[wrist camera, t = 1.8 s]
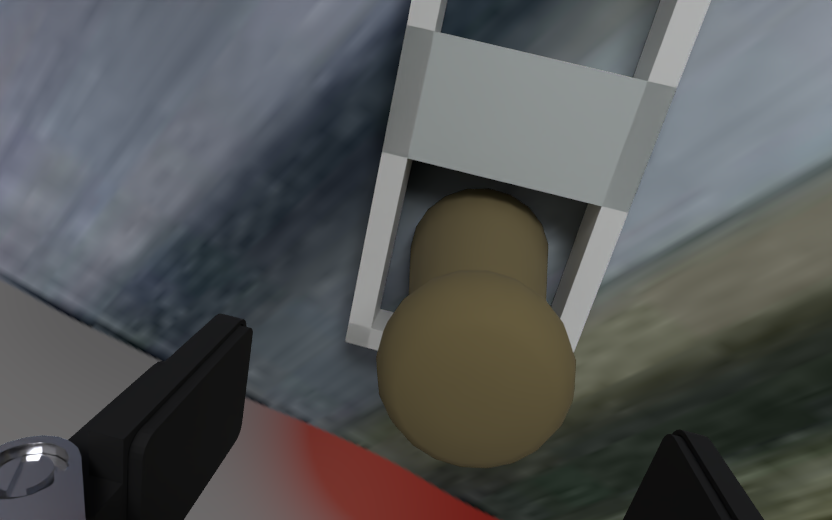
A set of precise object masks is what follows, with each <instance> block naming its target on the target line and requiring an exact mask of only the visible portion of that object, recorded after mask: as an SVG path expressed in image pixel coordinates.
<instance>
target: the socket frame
mask: <svg viewBox="0 0 832 520" xmlns="http://www.w3.org/2000/svg"><path fill="white" fill-rule="evenodd" d="M710 2H711V0H661V1H660V3H659V6H658V9H657V12H656V15H655V17H654V20H653V23H652V26H651V29H650V31H649V34H648V37H647V40H646V43H645V45H644V48H643V51H642V54H641V56H640V59H639V62H638V65H637V68H636V70H635V73H634V76H633V78H632V77H628V76H624V75H620V74H615V73H611V72H607V71H602V70H598V69H594V68H590V67H585V66H581V65H577V64H572V63H568V62H564V61H560V60H555V59H551V58H547V57H543V56H538V55H534V54H530V53H525V52H521V51H517V50H513V49H508V48H504V47H500V46H495V45H491V44H487V43H483V42H478V41H474V40H470V39H466V38H461V37H457V36H453V35H448V34H444V33H440V32H441V28H442V23H443V19H444V14H445V9H446V5H447V0H412V1H411V6H410V11H409V16H408V22H407V27H406V32H405V37H404V42H403V47H402V52H401V57H400V63H399V68H398V73H397V78H396V83H395V88H394V93H393V99H392V104H391V109H390V114H389V119H388V124H387V129H386V134H385V140H384V145H383V150H382V155H381V160H380V165H379V170H378V176H377V181H376V186H375V191H374V196H373V201H372V206H371V211H370V217H369V222H368V227H367V232H366V237H365V242H364V247H363V253H362V258H361V263H360V268H359V273H358V278H357V283H356V288H355V294H354V299H353V304H352V309H351V314H350V319H349V324H348V330H347V335H346V340H345V342H347V343H351V344H355V345H359V346H362V347H366V348H370V349H374V350H377V351H378V349H379V345H380V341H381V338H382V334H383V331H384V328H385V326H386V324H387V322H388V320H389V319H390V317H391V316H392V315H393V313H394V312H391V311H387V310H383V309H380V307H381V303H382V298H383V294H384V289H385V285H386V280H387V275H388V271H389V266H390V262H391V257H392V252H393V248H394V243H395V239H396V234H397V230H398V225H399V220H400V216H401V211H402V207H403V202H404V197H405V193H406V188H407V184H408V179H409V174H410V170H411V165H412V161H413V160H416V161H420V162H424V163H428V164H433V165H437V166H441V167H445V168H449V169H453V170H457V171H461V172H465V173H469V174H473V175H477V176H481V177H485V178H489V179H493V180H497V181H501V182H505V183H509V184H513V185H518V186H522V187H526V188H530V189H534V190H538V191H542V192H546V193H550V194H554V195H558V196H562V197H566V198H570V199H574V200H578V201H582V202H586V203H588V205H587V208H586V210H585V213H584V216H583V219H582V222H581V224H580V227H579V230H578V233H577V236H576V238H575V241H574V244H573V247H572V250H571V252H570V255H569V258H568V261H567V264H566V266H565V269H564V272H563V275H562V278H561V280H560V283H559V286H558V289H557V292H556V294H555V297H554V300H553V303H552V306H551V308H552V309H553V310H554V312H555V313H556V314H557V315H558V317H559V318H560V319H561V321H562V322H563V324H564V326H565V329H566V332H567V335H568V338H569V341H570V344H571V347H572V350H573V353H574V350H575V348H576V345H577V343H578V340H579V338H580V335H581V332H582V330H583V327H584V325H585V322H586V320H587V317H588V315H589V312H590V309H591V307H592V304H593V302H594V299H595V297H596V294H597V291H598V289H599V286H600V284H601V281H602V279H603V276H604V274H605V271H606V268H607V266H608V263H609V261H610V258H611V256H612V253H613V250H614V248H615V245H616V243H617V240H618V238H619V235H620V233H621V230H622V227H623V225H624V222H625V220H626V217H627V215H628V212H629V209H630V207H631V204H632V202H633V199H634V197H635V194H636V192H637V189H638V186H639V184H640V181H641V179H642V176H643V174H644V171H645V168H646V166H647V163H648V161H649V158H650V156H651V153H652V150H653V148H654V145H655V143H656V140H657V138H658V135H659V133H660V130H661V127H662V125H663V122H664V120H665V117H666V115H667V112H668V109H669V107H670V104H671V102H672V99H673V97H674V94H675V92H676V89H677V86H678V84H679V81H680V79H681V76H682V74H683V71H684V68H685V66H686V63H687V61H688V58H689V56H690V53H691V51H692V48H693V45H694V43H695V40H696V38H697V35H698V33H699V30H700V27H701V25H702V22H703V20H704V17H705V15H706V12H707V10H708V7H709V4H710Z"/></svg>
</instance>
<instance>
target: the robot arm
mask: <svg viewBox="0 0 832 520" xmlns="http://www.w3.org/2000/svg"><path fill="white" fill-rule="evenodd" d="M252 335H253V331H252V328H249V327H246V321H245V320H244V319H240V318H236V317H232V316H228V315H224V314H218V315H216V316H215V317H214V318H213V319H212V320H211V321H209V322H208V323H207V324H206V325H205V326H204V327H203V328H202V329H201V330H199V331H198V332H197V333H196V334H195V335H194V336H193V337H192V338H191V339H189V340H188V341H187V342H186V343H185V344H184V345H183V346H182V347H181V348H179V349H178V350H177V351H176V352H175V353H174V354H173V355H172V356H171V357H169V358H168V359H167V360H166V361H161V362H157V363H156V364H154V365H153V366H152V367H151V368H150V369H148V370H147V371H146V372H145V373H144V374H143V375H141V376H140V378H138V379H137V380H136V381H135V382H134V383H132V384H131V385H130V386H129V387H128V388H127V389H126V390H124V391H123V392H122V393H121V394H120V395H119V396H118V397H116V398H115V399H114V400H113V401H112V402H111V403H110V404H108V405H107V406H106V407H105V408H104V409H103V410H102V411H101V412H99V413H98V414H97V415H96V416H95V417H94V418H93V419H91V420H90V421H89V422H88V423H87V424H86V425H85V426H84V427H82V428H81V429H80V430H79V431H78V432H77V433H76V434H75V435H73V436H72V437H71V438H70V439H69V440H66V439H63V438H60V437H55V436H33V437H26V438H21V439H18V440H15V441H10V442H7V443H5V444H3V445H1V446H0V520H184V518H185V517H186V515H187V514H188V512H189V511H190V509H191V508H192V506H193V505H194V503H195V502H196V500H197V499H198V497H199V496H200V494H201V493H202V491H203V490H204V488H205V487H206V485H207V484H208V482H209V481H210V479H211V478H212V476H213V475H214V473H215V472H216V470H217V469H218V467H219V466H220V464H221V463H222V461H223V460H224V458H225V457H226V455H227V454H228V452H229V451H230V449H231V447H232V446H233V445H234V443H235V441H236V440H237V438H238V435H239V433H240V430H241V425H242V418H243V411H244V402H245V394H246V385H247V377H248V369H249V360H250V352H251V344H252ZM623 520H764V519H763V517H762V516H761V514H760V513H759V512H758V510H757V509H756V507H755V506H754V504H753V503H752V501H751V500H750V498H749V497H748V495H747V494H746V492H745V491H744V489H743V488H742V486H741V485H740V483H739V482H738V480H737V479H736V477H735V476H734V474H733V473H732V472H731V470H730V469H729V467H728V466H727V464H726V463H725V461H724V460H723V458H722V457H721V455H720V454H719V452H718V451H717V449H716V448H715V446H714V445H713V443H712V442H711V440H710V439H709V438H708V437H706V436H703V435H699V434H695V433H691V432H687V431H683V430H676V431H675V432H673V434H667V435H666V436H665V437H664V438H663V440H662V442H661V444H660V446H659V448H658V450H657V452H656V454H655V456H654V458H653V460H652V462H651V464H650V466H649V468H648V470H647V472H646V474H645V476H644V478H643V480H642V482H641V484H640V486H639V488H638V490H637V492H636V494H635V496H634V498H633V501H632V503H631V505H630V507H629V509H628V511H627V513H626V515H625V517H624V519H623Z"/></svg>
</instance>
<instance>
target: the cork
mask: <svg viewBox="0 0 832 520" xmlns="http://www.w3.org/2000/svg"><path fill="white" fill-rule="evenodd" d="M547 263H548V243H547V239H546V236H545V233H544V230H543V227H542V224H541V223H540V221H539V220H538V219H537V217H536V216H535V215H534V214H533V212H532V211H531V210H530V208H529V207H528V206H526V205H525V204H523V203H522V202H520V201H519V200H517V199H516V198H515V197H513V196H512V195H510V194H506V193H503V192H499V191H496V190H493V189H489V188H485V189H465V190H462V191H459V192H456V193H453V194H451V195H448V196H445V197H444V198H442V199H441V200H440V201H439V202H437V203H436V204H435V205H433V206H432V207H431V208H429V209H428V210H427V212H426V213H425V215H424V216H423V218H422V219H421V221H420V222H419V224H418V225H417V226H416V230H415V233H414V237H413V241H412V244H411V257H410V281H409V296H407V297H406V298H404V299H403V301H402V302H401V303H400V305H399V306H398V308H397V309H396V310H395V312H394V313H393V315H392V316H391V317H390V319H389V320H388V322H387V324H386V326H385V328H384V331H383V334H382V338H381V341H380V345H379V349H378V352H377V356H376V362H377V376H378V387H379V395H380V397H381V400H382V402H383V404H384V406H385V408H386V411H387V413H388V415H389V417H390V419H391V420H392V422H393V423H394V424H395V426H396V427H397V428H398V429H399V430H400V431H401V432H402V433H403V435H404V436H405V437H406V438H407V439H408V440H409V441H410V442H411V443H412V445H414V446H415V447H417V448H418V449H420V450H422V451H423V452H425V453H427V454H428V455H430V456H431V457H433V458H435V459H437V460H440V461H444V462H447V463H450V464H453V465H456V466H460V467H474V468H491V467H496V466H500V465H505V464H510V463H514V462H516V461H518V460H520V459H522V458H524V457H525V456H527V455H529V454H531V453H533V452H535V451H537V450H538V449H539V448H540V447H541V446H542V445H543V444H544V443H545V442H546V441H547V439H548V438H549V437H550V436H551V435H552V434H553V433H554V432H555V431H556V430H557V429H558V428H559V427H560V426H561V425H562V423H563V421H564V419H565V417H566V414H567V412H568V410H569V408H570V406H571V403H572V401H573V395H574V388H575V371H576V359H575V356H574V353H573V350H572V347H571V344H570V341H569V338H568V335H567V332H566V329H565V326H564V324H563V322H562V321H561V319H560V318H559V317H558V315H557V314H556V313H555V312H554V310H553V309H552V308H551V306H550V305H549V304H548V303H547V301H546V289H547Z"/></svg>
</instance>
